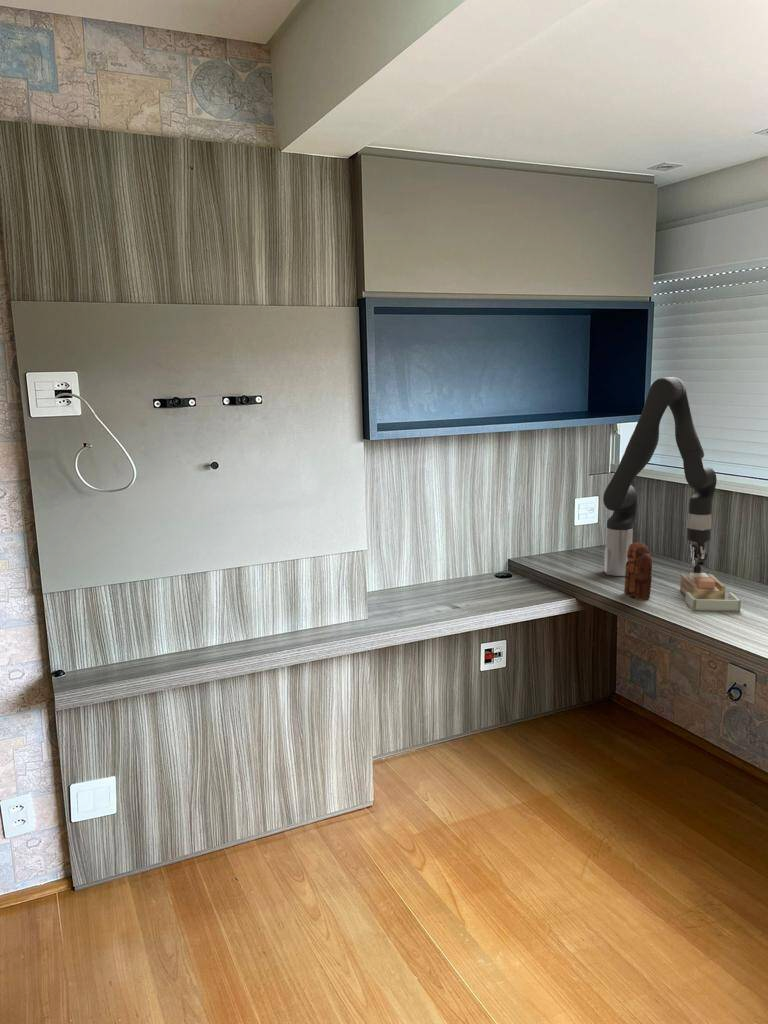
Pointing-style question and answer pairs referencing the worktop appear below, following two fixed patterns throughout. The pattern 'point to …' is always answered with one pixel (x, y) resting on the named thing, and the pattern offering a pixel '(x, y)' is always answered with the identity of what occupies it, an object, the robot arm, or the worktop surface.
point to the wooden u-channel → (707, 594)
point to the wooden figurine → (638, 571)
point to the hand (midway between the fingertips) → (696, 576)
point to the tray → (713, 604)
